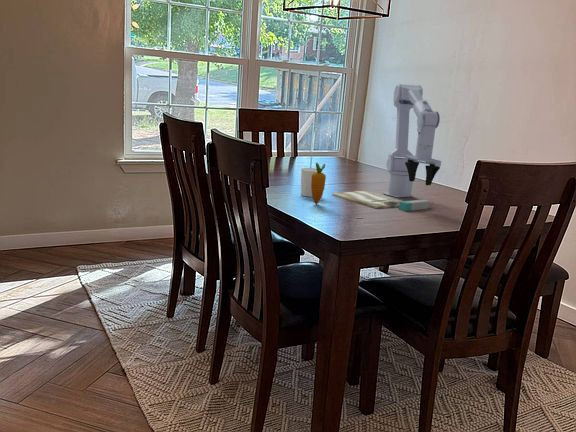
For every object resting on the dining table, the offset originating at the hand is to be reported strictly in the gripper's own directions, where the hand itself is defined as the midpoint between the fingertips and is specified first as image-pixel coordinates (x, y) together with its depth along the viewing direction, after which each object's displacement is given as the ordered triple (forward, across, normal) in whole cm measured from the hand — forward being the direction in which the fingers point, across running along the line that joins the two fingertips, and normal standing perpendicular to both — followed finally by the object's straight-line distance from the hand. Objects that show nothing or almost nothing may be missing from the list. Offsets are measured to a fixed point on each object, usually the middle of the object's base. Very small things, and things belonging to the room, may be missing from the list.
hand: (419, 183), depth 192 cm
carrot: (+10, -18, -33) cm, 39 cm away
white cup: (+10, -32, -25) cm, 42 cm away
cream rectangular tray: (+9, -17, -7) cm, 21 cm away
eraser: (+10, 0, 0) cm, 10 cm away
